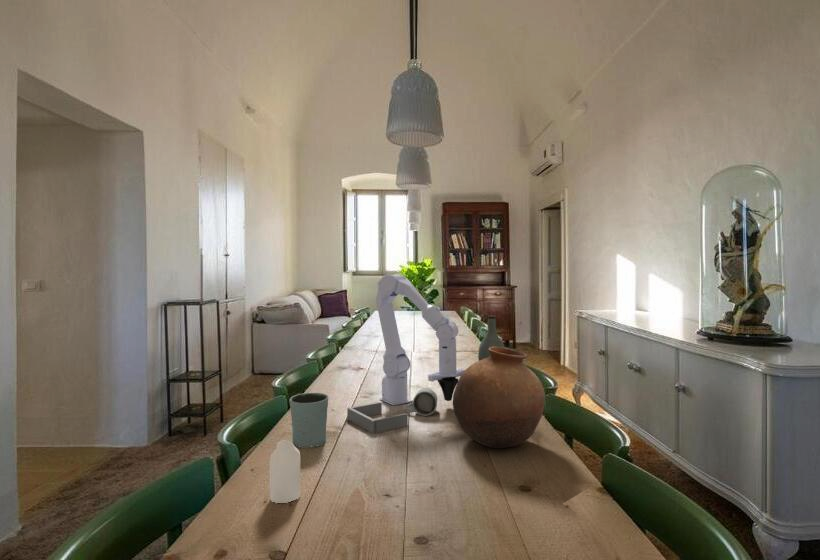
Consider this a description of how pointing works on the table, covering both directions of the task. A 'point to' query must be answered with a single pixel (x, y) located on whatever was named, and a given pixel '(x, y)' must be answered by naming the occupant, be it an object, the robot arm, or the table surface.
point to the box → (378, 425)
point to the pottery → (499, 399)
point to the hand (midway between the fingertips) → (448, 400)
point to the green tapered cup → (309, 418)
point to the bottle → (489, 339)
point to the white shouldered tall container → (285, 473)
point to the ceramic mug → (423, 402)
